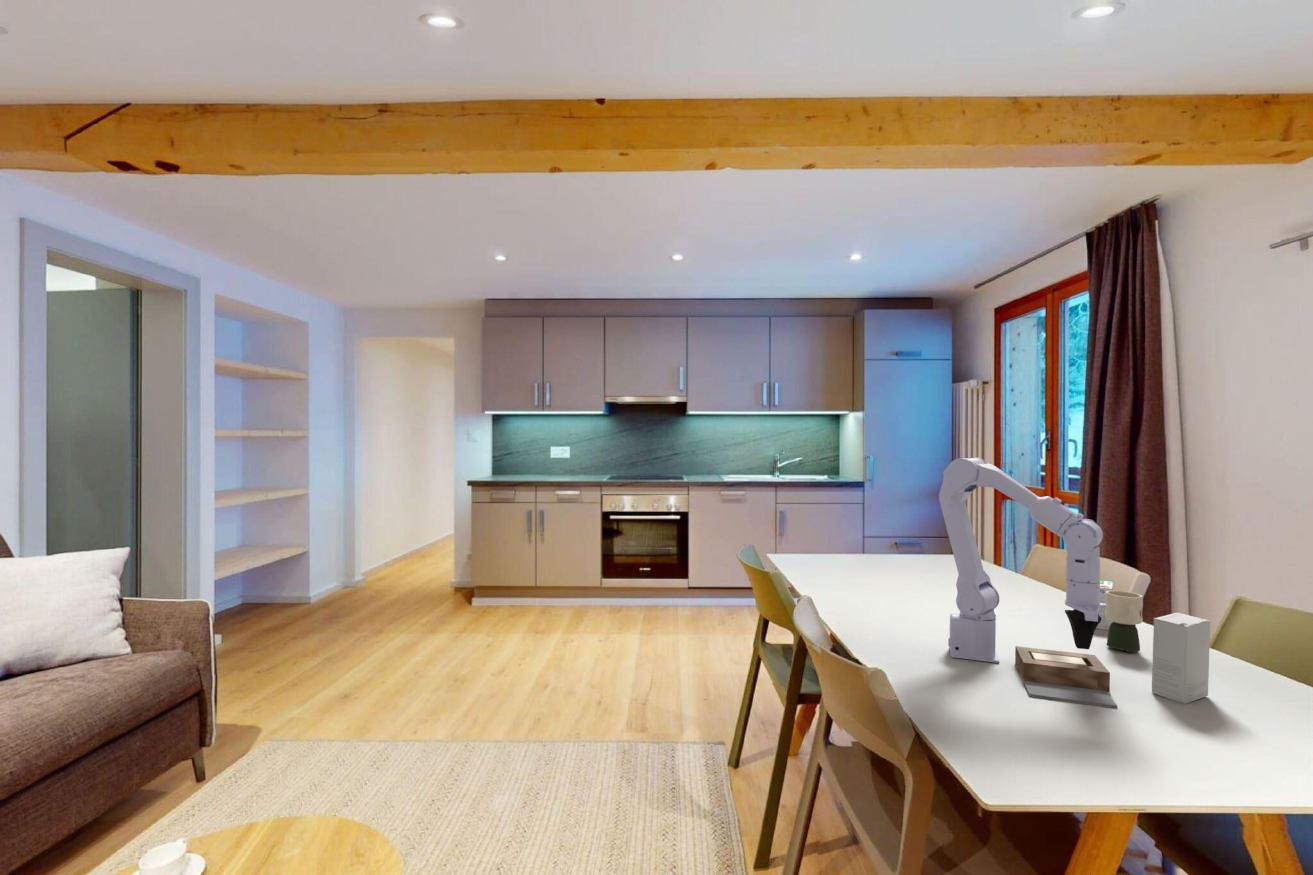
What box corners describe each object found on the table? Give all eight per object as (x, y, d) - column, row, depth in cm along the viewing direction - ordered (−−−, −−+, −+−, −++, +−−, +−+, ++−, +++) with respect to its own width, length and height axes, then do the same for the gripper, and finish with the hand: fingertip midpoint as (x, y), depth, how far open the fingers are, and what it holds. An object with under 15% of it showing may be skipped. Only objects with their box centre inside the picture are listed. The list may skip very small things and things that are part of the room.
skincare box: (1174, 686, 130) (1175, 611, 130) (1210, 697, 124) (1212, 619, 124) (1149, 693, 126) (1151, 616, 126) (1186, 705, 121) (1187, 624, 121)
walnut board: (1094, 673, 137) (1094, 655, 137) (1109, 692, 126) (1109, 672, 126) (1015, 663, 142) (1015, 646, 142) (1023, 681, 132) (1023, 662, 132)
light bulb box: (1082, 617, 180) (1083, 577, 180) (1112, 621, 176) (1113, 581, 176) (1080, 626, 171) (1080, 584, 171) (1111, 631, 167) (1112, 588, 167)
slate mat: (1029, 696, 124) (1029, 693, 124) (1023, 683, 131) (1023, 680, 131) (1117, 708, 119) (1117, 705, 119) (1106, 693, 126) (1106, 691, 126)
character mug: (1151, 659, 146) (1152, 600, 146) (1113, 655, 148) (1114, 597, 148) (1132, 644, 156) (1132, 589, 156) (1097, 641, 158) (1098, 587, 158)
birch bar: (1081, 667, 135) (1081, 657, 135) (1086, 675, 131) (1086, 664, 131) (1031, 661, 138) (1031, 652, 138) (1034, 668, 134) (1035, 658, 134)
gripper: (1117, 589, 125) (1116, 661, 125) (1096, 575, 138) (1096, 640, 138) (1073, 586, 127) (1073, 657, 127) (1057, 572, 141) (1057, 636, 141)
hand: (1082, 647), depth 133 cm, fingers closed
